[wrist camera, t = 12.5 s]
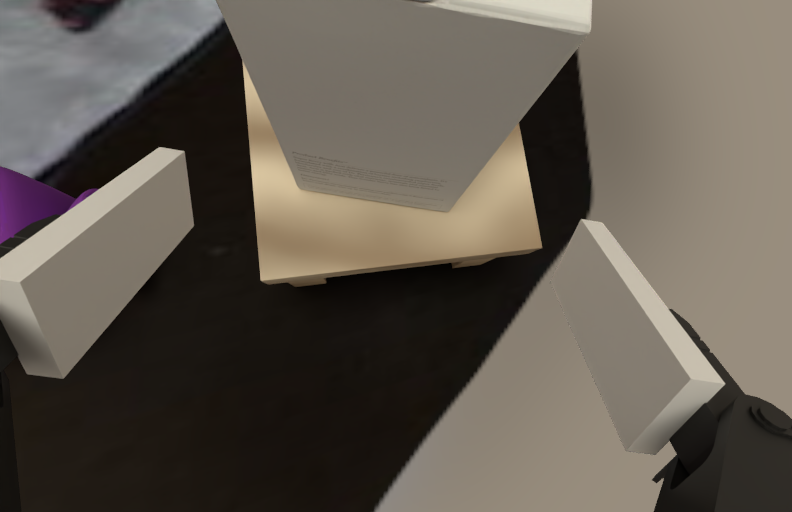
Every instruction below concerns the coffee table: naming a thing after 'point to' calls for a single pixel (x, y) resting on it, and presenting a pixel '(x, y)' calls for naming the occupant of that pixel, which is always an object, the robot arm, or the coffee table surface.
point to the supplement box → (400, 86)
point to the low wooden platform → (381, 217)
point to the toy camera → (29, 202)
